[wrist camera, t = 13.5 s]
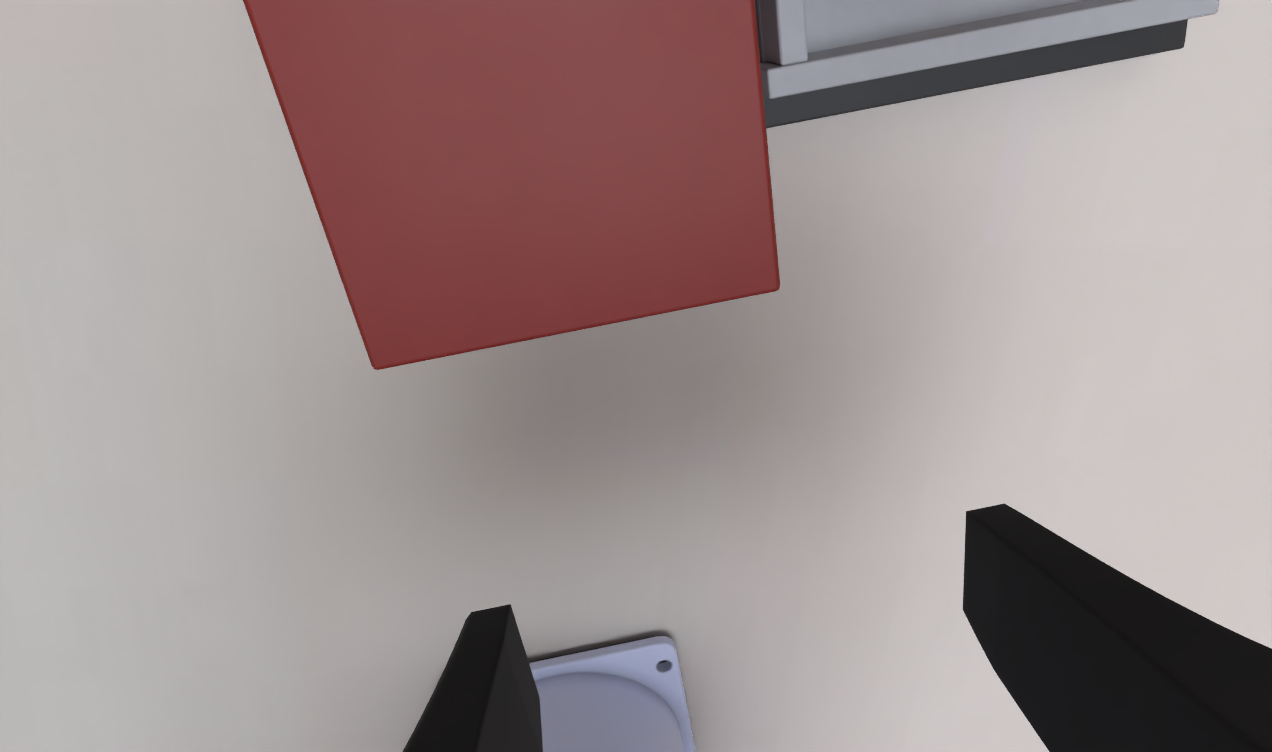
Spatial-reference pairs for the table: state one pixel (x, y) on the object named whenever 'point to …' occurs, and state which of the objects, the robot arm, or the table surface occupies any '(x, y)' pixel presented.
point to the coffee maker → (609, 138)
